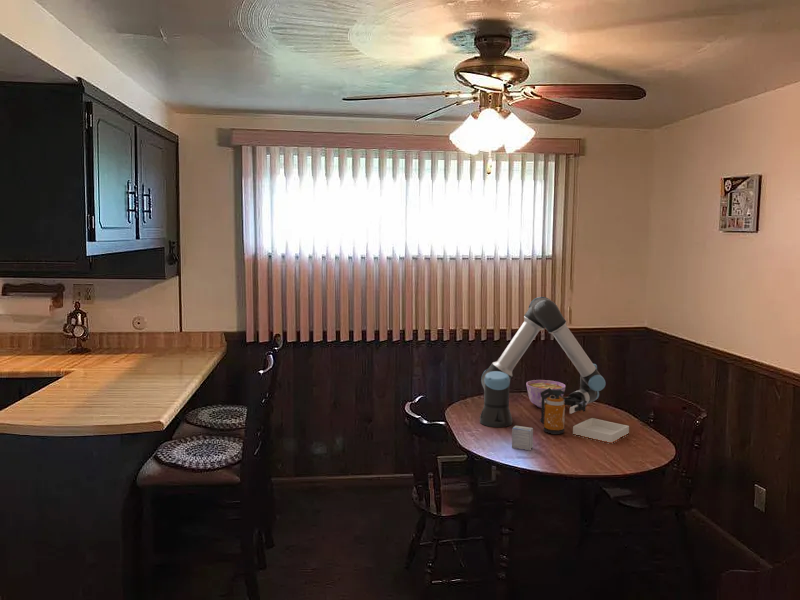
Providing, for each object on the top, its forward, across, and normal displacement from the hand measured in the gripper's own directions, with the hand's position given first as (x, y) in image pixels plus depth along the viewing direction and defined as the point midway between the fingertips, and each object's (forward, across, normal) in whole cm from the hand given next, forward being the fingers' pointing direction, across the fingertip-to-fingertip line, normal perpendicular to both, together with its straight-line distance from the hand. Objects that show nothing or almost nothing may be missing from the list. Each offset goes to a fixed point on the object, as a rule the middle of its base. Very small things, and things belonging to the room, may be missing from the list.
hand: (556, 407), depth 300 cm
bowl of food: (-34, +24, -11) cm, 43 cm away
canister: (+2, +1, -11) cm, 11 cm away
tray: (-9, -17, -11) cm, 23 cm away
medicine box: (+30, -1, -11) cm, 33 cm away
